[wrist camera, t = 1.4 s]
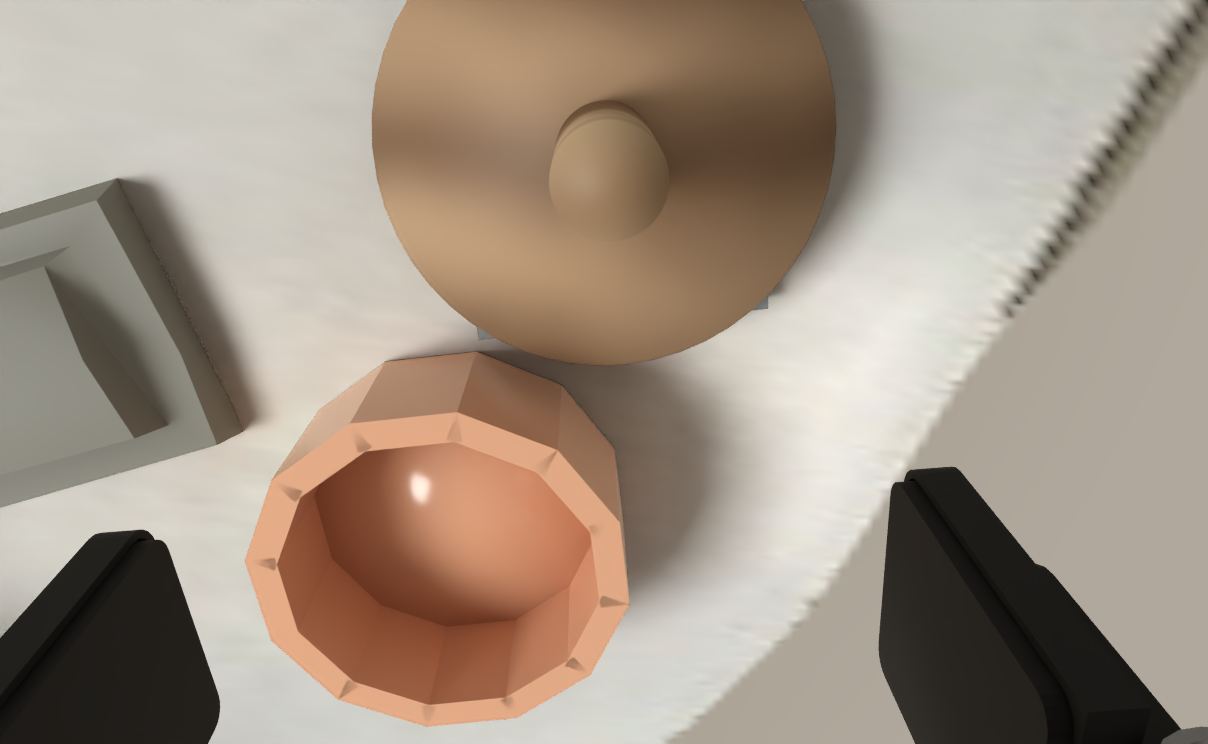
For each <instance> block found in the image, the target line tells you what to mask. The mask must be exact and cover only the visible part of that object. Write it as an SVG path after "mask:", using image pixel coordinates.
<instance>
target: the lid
mask: <svg viewBox="0 0 1208 744" xmlns="http://www.w3.org/2000/svg"><path fill="white" fill-rule="evenodd" d="M835 136H836V116H835V100H834V91H833V86H832V81H831V76H830V71H829V66H828V62H827V59H826V56H825V53H824V50H823V47H822V44H821V41H820V38H819V35H818V32H817V30H816V28H815V26H814V24H813V22H812V20H811V18H810V16H809V14H808V12H807V10H806V8H805V6H804V4H803V2H802V1H801V0H407V2H406V4H405V6H404V7H403V9H402V11H401V13H400V15H399V16H398V18H397V20H396V22H395V24H394V27H393V29H392V32H391V34H390V37H389V39H388V42H387V44H386V47H385V49H384V52H383V56H382V60H381V64H380V68H379V72H378V76H377V80H376V84H375V92H374V101H373V110H372V148H373V155H374V161H375V168H376V175H377V180H378V184H379V187H380V191H381V194H382V198H383V202H384V205H385V208H386V211H387V213H388V216H389V218H390V220H391V223H392V225H393V227H394V230H395V232H396V235H397V237H398V238H399V240H400V242H401V244H402V245H403V247H404V249H405V251H406V252H407V254H408V256H409V257H410V259H411V261H412V262H413V264H414V265H415V266H416V268H417V269H418V270H419V272H420V273H421V274H422V276H423V277H424V278H425V280H426V281H427V282H428V284H429V285H430V286H431V287H432V288H433V289H434V290H435V291H436V292H437V293H438V294H439V295H440V296H441V297H442V298H443V299H444V300H445V301H446V302H447V303H448V305H450V306H451V307H452V308H453V309H454V310H456V311H457V312H458V313H459V314H461V315H462V316H463V317H464V318H466V319H467V320H468V321H469V322H471V323H472V324H474V325H475V326H477V327H478V328H480V329H482V330H483V331H485V332H486V333H488V334H490V335H491V336H493V337H494V338H496V339H498V340H501V341H503V342H505V343H507V344H509V345H511V346H513V347H516V348H518V349H520V350H523V351H526V352H529V353H532V354H535V355H538V356H541V357H544V358H548V359H553V360H558V361H563V362H568V363H574V364H588V365H620V364H631V363H637V362H643V361H649V360H655V359H658V358H661V357H665V356H668V355H672V354H675V353H678V352H681V351H684V350H686V349H688V348H691V347H693V346H695V345H697V344H700V343H702V342H704V341H707V340H708V339H710V338H712V337H713V336H715V335H717V334H718V333H720V332H722V331H724V330H725V329H727V328H729V327H730V326H732V325H733V324H734V323H736V322H737V321H738V320H740V319H741V318H742V317H744V316H745V315H746V314H747V313H749V312H750V311H751V310H753V309H754V308H755V307H756V306H757V305H758V304H759V303H760V302H761V301H762V300H763V299H764V298H765V297H766V296H767V295H768V294H769V293H770V292H771V291H772V290H773V289H774V288H775V287H776V285H777V284H778V283H779V282H780V280H781V279H782V278H783V277H784V276H785V274H786V273H787V272H788V271H789V269H790V268H791V267H792V265H793V263H794V262H795V260H796V259H797V257H798V255H799V254H800V252H801V251H802V249H803V247H804V246H805V244H806V243H807V241H808V238H809V236H810V234H811V232H812V230H813V228H814V226H815V223H816V221H817V219H818V217H819V214H820V211H821V208H822V205H823V202H824V199H825V196H826V193H827V190H828V186H829V181H830V176H831V171H832V166H833V160H834V151H835Z"/></svg>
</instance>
